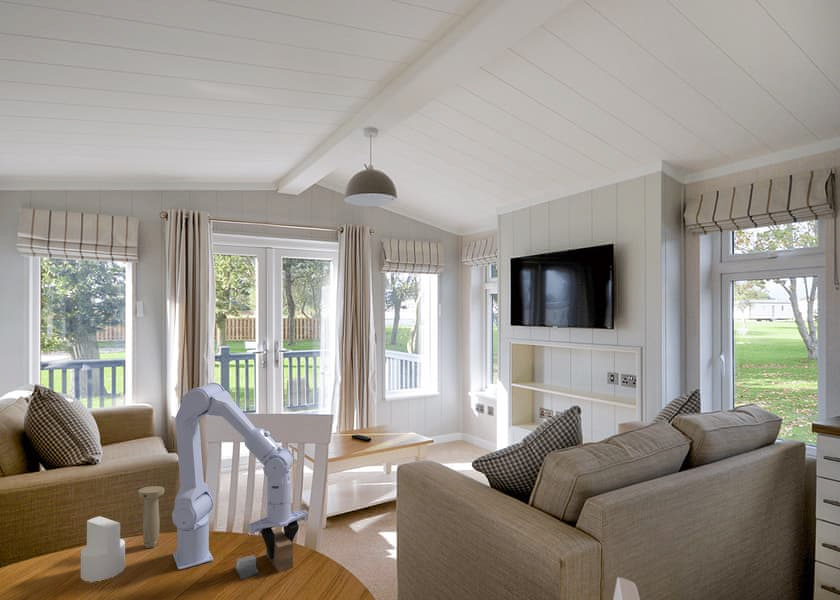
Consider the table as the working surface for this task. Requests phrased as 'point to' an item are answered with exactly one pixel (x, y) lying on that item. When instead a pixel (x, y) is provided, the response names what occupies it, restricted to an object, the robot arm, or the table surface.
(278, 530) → the rectangular block
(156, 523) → the handle
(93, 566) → the cylinder with rectangular tab
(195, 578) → the table surface
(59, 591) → the table surface
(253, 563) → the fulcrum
